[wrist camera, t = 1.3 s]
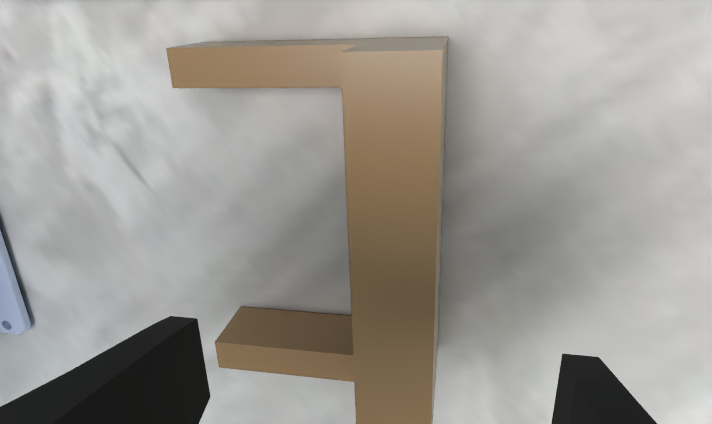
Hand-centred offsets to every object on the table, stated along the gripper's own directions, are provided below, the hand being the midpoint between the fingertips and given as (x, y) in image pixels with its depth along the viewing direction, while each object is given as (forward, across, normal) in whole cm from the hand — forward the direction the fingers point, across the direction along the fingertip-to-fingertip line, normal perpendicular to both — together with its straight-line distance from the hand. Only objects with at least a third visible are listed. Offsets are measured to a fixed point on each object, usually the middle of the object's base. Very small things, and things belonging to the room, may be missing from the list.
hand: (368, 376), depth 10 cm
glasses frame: (+9, +3, 0) cm, 10 cm away
